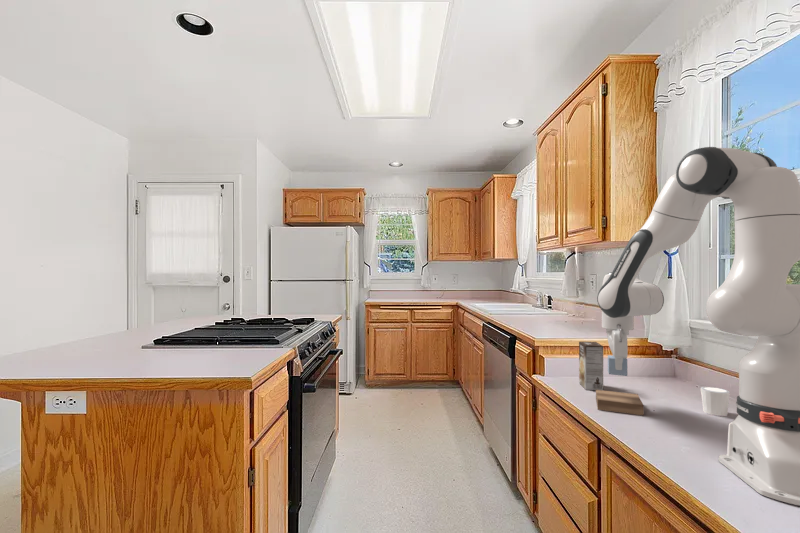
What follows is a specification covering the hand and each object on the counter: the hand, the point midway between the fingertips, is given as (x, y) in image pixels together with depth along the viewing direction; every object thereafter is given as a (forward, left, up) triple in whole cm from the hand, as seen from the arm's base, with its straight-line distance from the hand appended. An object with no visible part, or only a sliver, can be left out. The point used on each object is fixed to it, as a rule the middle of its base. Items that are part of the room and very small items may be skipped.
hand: (617, 367), depth 124 cm
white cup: (+6, -26, -12) cm, 30 cm away
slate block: (0, 0, -2) cm, 2 cm away
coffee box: (+21, +7, -12) cm, 25 cm away
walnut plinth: (0, 0, -12) cm, 12 cm away
